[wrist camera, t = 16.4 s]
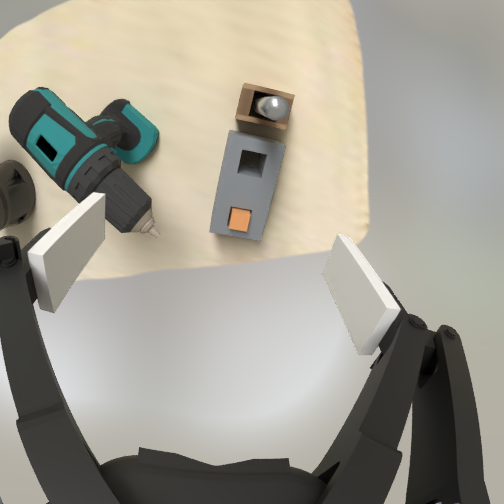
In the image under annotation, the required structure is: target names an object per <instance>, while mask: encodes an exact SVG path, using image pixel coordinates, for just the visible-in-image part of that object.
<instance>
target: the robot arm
mask: <svg viewBox="0 0 504 504" xmlns="http://www.w3.org/2000/svg"><path fill="white" fill-rule="evenodd" d="M34 204H35V189H34V185H33V181H32V179H31V176H30V174H29V173H28V171H27V170H26V168H25V167H24V166H23V165H22V164H20V163H19V162H17V161H13V160H8V161H5V162H3V163H1V164H0V230H2V229H3V228H6V227H10V226H15V225H18V224H20V223H22V222H23V221H25V220H26V219H27V218H28V217H29V216H30V215H31V213H32V211H33V208H34ZM104 239H105V194H103V193H95V192H93V193H92V194H91V195H89V196H88V197H87V198H86V199H85V200H83V201H82V202H81V203H80V204H79V205H77V206H76V207H75V208H74V209H73V210H72V211H70V212H69V213H68V214H67V215H66V216H65V217H64V218H63V219H61V220H60V221H59V222H58V223H57V224H56V225H55V226H54V227H53V228H47V229H45V230H43V231H41V232H40V233H39V234H38V235H37V236H35V238H33V239H32V240H31V241H30V243H28V244H27V245H26V246H25V247H24V248H23V249H22V250H20V244H19V240H18V238H17V237H15V236H4V237H1V238H0V338H1V345H2V350H3V356H4V361H5V366H6V371H7V375H8V380H9V383H10V388H11V392H12V395H13V399H14V402H15V406H16V409H17V412H18V416H19V419H18V420H16V425H17V428H18V432H19V435H20V437H21V440H22V443H23V446H24V448H25V451H26V453H27V456H28V458H29V461H30V463H31V465H32V468H33V469H34V472H35V474H36V476H37V478H38V481H39V483H40V485H41V487H42V489H43V491H44V493H45V494H46V497H47V498H48V500H49V502H48V503H46V504H384V502H385V499H386V497H387V495H388V492H389V490H390V488H391V485H392V483H393V481H394V478H395V476H396V473H397V470H398V468H399V465H400V463H401V459H402V452H401V451H398V450H397V447H398V444H399V441H400V438H401V436H402V433H403V430H404V426H405V423H406V420H407V417H408V414H409V410H410V407H411V403H412V441H411V455H410V468H409V477H408V485H407V493H406V503H405V504H490V500H489V496H488V493H487V489H486V485H485V482H484V473H483V456H482V445H481V436H480V428H479V421H478V414H477V408H476V402H475V397H474V392H473V387H472V382H471V378H470V373H469V369H468V366H467V361H466V357H465V354H464V350H463V346H462V342H461V339H460V336H459V334H458V333H457V332H456V330H455V329H453V328H452V327H450V326H447V325H441V326H440V327H439V329H438V330H437V332H433V331H431V330H428V329H427V325H426V324H425V322H424V321H423V320H422V319H420V318H419V317H418V316H415V315H412V314H408V313H407V312H406V311H405V309H404V307H403V306H402V304H401V303H400V302H399V300H397V297H396V296H395V295H394V293H393V291H392V290H391V289H390V287H389V286H388V285H386V284H385V283H384V282H383V281H381V279H380V278H379V277H378V275H377V274H376V272H375V271H374V270H373V268H372V267H371V266H370V264H369V263H368V261H367V260H366V259H365V257H364V256H363V255H362V253H361V252H360V250H359V249H358V248H357V247H356V245H355V244H354V242H353V241H352V240H351V239H350V237H349V236H345V235H340V234H337V236H336V239H335V242H334V244H333V247H332V250H331V252H330V255H329V258H328V260H327V263H326V265H325V268H324V270H323V273H322V274H323V277H324V279H325V281H326V283H327V285H328V287H329V290H330V292H331V294H332V296H333V298H334V301H335V303H336V305H337V307H338V309H339V311H340V314H341V316H342V318H343V320H344V323H345V325H346V327H347V330H348V332H349V334H350V336H351V339H352V341H353V343H354V346H355V348H356V351H357V353H358V355H372V354H373V353H374V351H375V350H376V348H377V347H378V346H379V348H380V350H381V353H380V354H379V356H378V357H377V359H376V360H375V361H374V363H373V364H372V366H371V367H370V368H371V369H372V371H371V373H370V375H369V377H368V379H367V381H366V383H365V385H364V388H363V390H362V391H361V393H360V395H359V397H358V399H357V401H356V403H355V405H354V407H353V409H352V411H351V412H350V414H349V416H348V418H347V420H346V421H345V424H344V425H343V427H342V429H341V430H340V432H339V434H338V435H337V437H336V439H335V440H334V442H333V444H332V446H331V447H330V449H329V450H328V452H327V454H326V455H325V457H324V458H323V460H322V461H321V463H320V464H319V466H318V467H317V468H316V469H315V470H314V471H313V472H312V473H311V474H310V473H308V472H306V471H304V470H301V469H298V468H294V467H290V465H289V459H288V458H284V459H252V460H247V461H242V462H237V463H232V464H226V465H220V466H213V465H210V464H206V463H203V462H200V461H197V460H194V459H191V458H188V457H185V456H182V455H179V454H176V453H170V452H163V451H157V450H151V449H145V448H140V447H139V453H138V455H132V456H124V457H120V458H116V459H113V460H111V461H108V462H106V463H104V464H102V465H100V464H99V463H98V461H97V459H96V458H95V456H94V454H93V453H92V451H91V450H90V448H89V446H88V445H87V443H86V441H85V439H84V437H83V435H82V433H81V431H80V429H79V427H78V426H77V424H76V422H75V420H74V418H73V416H72V413H71V411H70V409H69V407H68V405H67V402H66V400H65V398H64V396H63V393H62V391H61V389H60V386H59V384H58V381H57V378H56V376H55V373H54V371H53V368H52V365H51V363H50V360H49V357H48V354H47V351H46V348H45V345H44V342H43V338H42V335H41V332H40V328H39V325H38V321H37V318H36V314H35V310H34V307H33V303H34V302H35V300H36V299H38V303H39V307H40V309H42V310H45V311H49V312H52V313H55V311H56V309H57V308H58V306H59V305H60V303H61V301H62V300H63V298H64V297H65V295H66V294H67V292H68V291H69V289H70V287H71V286H72V284H73V283H74V282H75V280H76V279H77V277H78V276H79V274H80V273H81V271H82V270H83V268H84V267H85V266H86V264H87V263H88V261H89V260H90V258H91V257H92V256H93V254H94V253H95V252H96V250H97V249H98V247H99V246H100V245H101V243H102V242H103V241H104ZM0 504H3V503H2V500H1V498H0Z"/></svg>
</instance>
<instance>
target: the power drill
mask: <svg viewBox="0 0 504 504" xmlns="http://www.w3.org/2000/svg"><path fill="white" fill-rule="evenodd" d="M9 128H10V132H11V135H12V136H13V137H14V138H15V139H16V140H17V142H18V143H19V144H20V145H21V146H22V147H23V148H24V149H25V150H26V151H27V152H28V154H29V155H30V156H31V157H32V158H33V159H34V160H35V161H36V162H37V163H38V165H39V166H40V167H41V168H42V169H43V170H44V171H45V172H46V174H47V175H48V176H49V177H50V178H51V179H52V180H53V181H54V182H55V183H56V184H57V185H58V186H59V187H60V188H61V189H62V190H65V191H67V192H68V193H69V194H70V195H71V196H72V197H73V198H74V199H75V200H76V201H77V202H78V203H79V204H80V203H81V202H82V201H83V200H85V199H86V198H87V197H88V196H89V195H91V194H92V193H93V192H95V193H103V194H105V219H106V220H107V221H108V222H110V223H111V224H112V225H113V226H114V227H115V228H116V229H118V230H119V231H120V232H121V233H126V232H139V231H140V233H146V232H148V233H150V234H151V235H153V236H155V237H156V238H157V237H158V236H159V235H160V233H159V232H158V231H157V229H156V228H155V227H154V225H153V224H154V219H153V217H152V207H151V198H150V197H149V196H148V195H147V194H146V193H145V192H144V191H143V190H142V189H141V188H140V187H139V186H138V185H137V184H136V183H135V182H134V181H133V180H132V179H131V178H130V177H129V176H128V175H127V174H126V173H125V172H124V171H123V170H122V169H121V168H120V167H121V160H122V161H124V162H125V163H128V164H136V163H139V162H141V161H142V160H143V159H145V158H146V157H147V156H148V155H149V154H150V152H151V151H152V149H153V148H154V146H155V144H156V141H157V137H158V134H159V131H158V129H157V128H156V126H154V125H153V124H152V123H151V122H150V121H149V120H148V119H146V118H145V117H144V116H143V115H142V114H141V113H140V112H138V111H137V110H136V109H135V108H134V107H133V106H132V105H130V101H127V100H125V99H118V100H114V101H113V102H112V103H110V104H109V105H108V106H107V107H106V108H105V109H104V110H103V111H102V113H101V114H100V115H99V116H95V117H93V118H91V119H90V120H88V121H87V122H84V121H83V120H82V119H81V118H80V117H79V116H78V115H77V114H76V113H75V112H74V111H72V110H71V109H70V108H68V107H67V106H66V105H65V103H64V102H63V101H62V100H61V99H60V98H59V97H58V96H57V95H56V94H55V93H54V92H53V91H51V90H49V89H48V88H44V87H38V88H36V89H35V90H29V91H28V92H27V93H25V94H24V95H23V96H21V98H20V99H19V100H18V101H17V102H16V103H15V105H14V107H13V109H12V111H11V113H10V115H9ZM120 159H121V160H120Z"/></svg>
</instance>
